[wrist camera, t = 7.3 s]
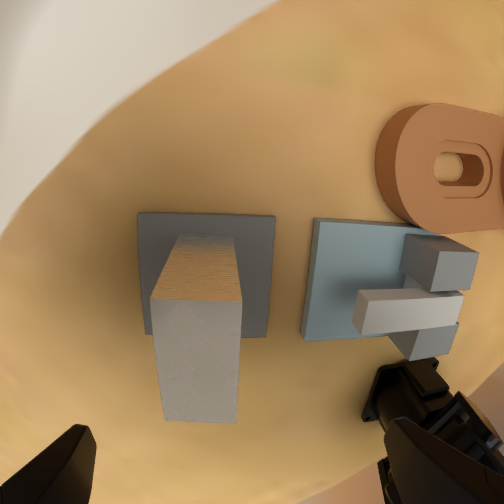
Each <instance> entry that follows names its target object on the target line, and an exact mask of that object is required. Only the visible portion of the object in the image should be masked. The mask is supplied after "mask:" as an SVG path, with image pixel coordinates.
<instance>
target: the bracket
mask: <svg viewBox="0 0 504 504" xmlns="http://www.w3.org/2000/svg"><path fill="white" fill-rule="evenodd" d="M442 152H454V153H457V154H458V155H459V156H460V157H461V159H462V161H463V166H464V170H463V174H462V176H461V178H460V179H459V180H458V181H456V182H438V181H437V180H436V178H435V175H434V169H433V167H434V161H435V159H436V157H437V156H438V155H439V154H440V153H442ZM375 173H376V179H377V183H378V187H379V190H380V192H381V195H382V197H383V199H384V200H385V202H386V204H387V205H388V206H389V208H390V209H391V210H392V211H393V212H394V213H395V214H396V215H397V216H398V217H400V218H401V219H403V220H405V221H407V222H409V223H411V224H414V225H416V226H418V227H420V228H423V229H425V230H427V231H429V232H432V233H435V234H451V233H462V232H472V231H482V230H492V229H502V228H504V117H501V116H497V115H493V114H490V113H486V112H482V111H477V110H473V109H469V108H464V107H460V106H455V105H450V104H444V103H435V104H427V105H421V106H414V107H409V108H406V109H403V110H401V111H400V112H398V113H397V114H395V115H394V116H393V117H392V118H391V119H390V120H389V121H388V122H387V124H386V125H385V127H384V128H383V130H382V132H381V134H380V137H379V140H378V143H377V147H376V153H375Z"/></svg>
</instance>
